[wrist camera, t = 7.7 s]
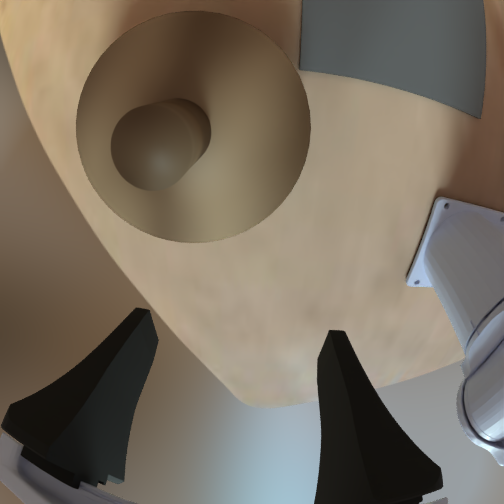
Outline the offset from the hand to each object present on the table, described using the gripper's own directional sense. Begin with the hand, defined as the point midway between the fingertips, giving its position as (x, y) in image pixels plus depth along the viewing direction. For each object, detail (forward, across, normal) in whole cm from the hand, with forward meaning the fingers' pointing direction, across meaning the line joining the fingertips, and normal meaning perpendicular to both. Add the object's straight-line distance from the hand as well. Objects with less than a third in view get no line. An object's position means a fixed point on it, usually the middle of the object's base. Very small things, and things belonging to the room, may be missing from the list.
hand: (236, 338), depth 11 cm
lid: (+6, +4, -7) cm, 10 cm away
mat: (+10, -8, -17) cm, 21 cm away
